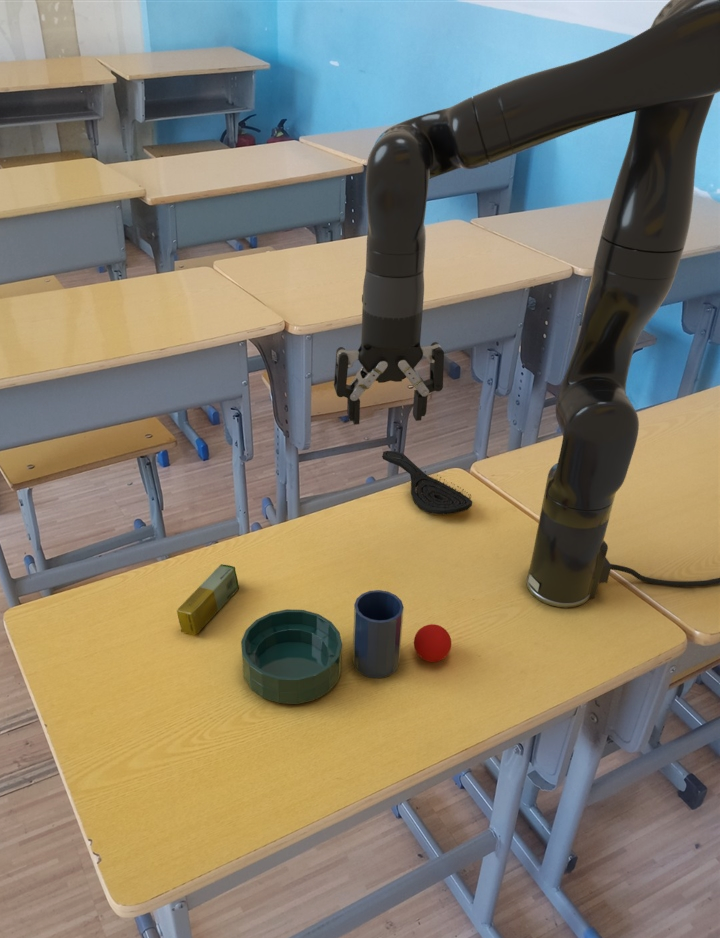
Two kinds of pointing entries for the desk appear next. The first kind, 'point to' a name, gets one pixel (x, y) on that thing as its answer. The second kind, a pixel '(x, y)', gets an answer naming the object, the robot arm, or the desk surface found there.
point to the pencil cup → (377, 633)
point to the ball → (432, 643)
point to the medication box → (207, 599)
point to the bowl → (291, 656)
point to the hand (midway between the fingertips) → (386, 420)
